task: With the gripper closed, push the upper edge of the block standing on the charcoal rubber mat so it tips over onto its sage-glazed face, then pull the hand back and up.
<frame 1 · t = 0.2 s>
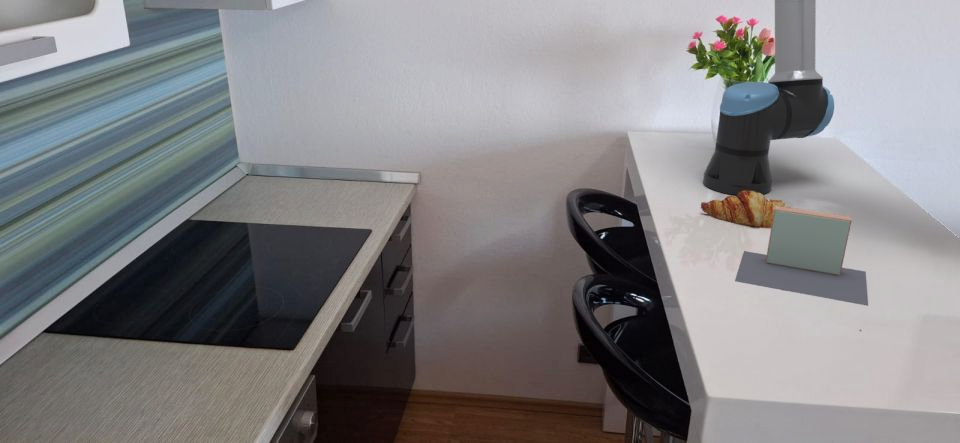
mat: (800, 280, 126), on the counter
block: (802, 267, 130), point 1 cm above the counter, touching mat
croissant: (753, 225, 152), on the counter
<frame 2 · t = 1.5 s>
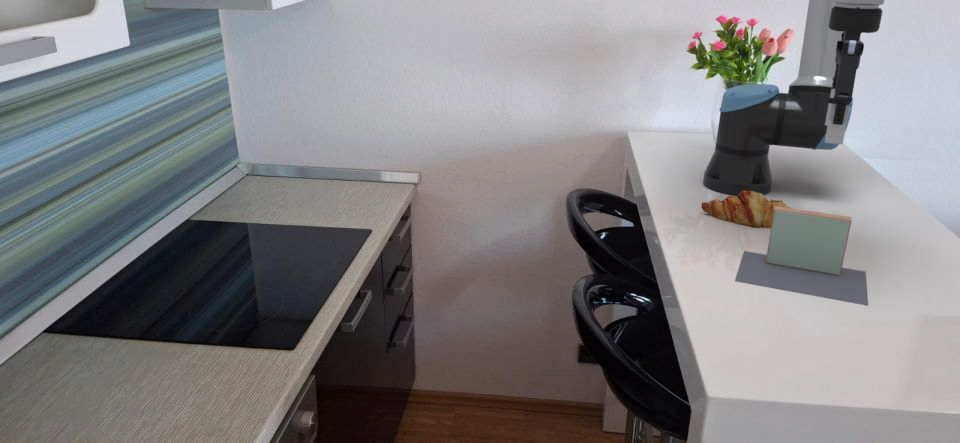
hand: (833, 134, 128), 23 cm above the counter, tool pointing down, fingers open, 13 cm apart
nothing on the counter moved.
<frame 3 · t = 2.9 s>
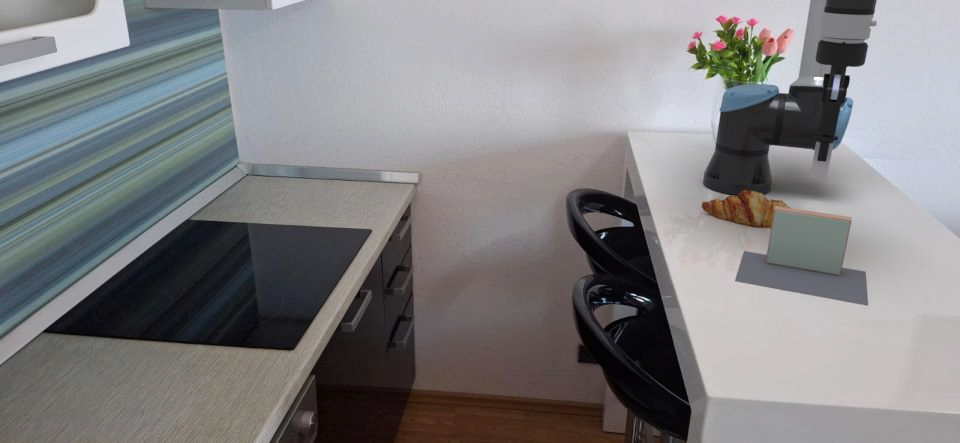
hand: (818, 177, 131), 15 cm above the counter, tool pointing down, fingers closed
nothing on the counter moved.
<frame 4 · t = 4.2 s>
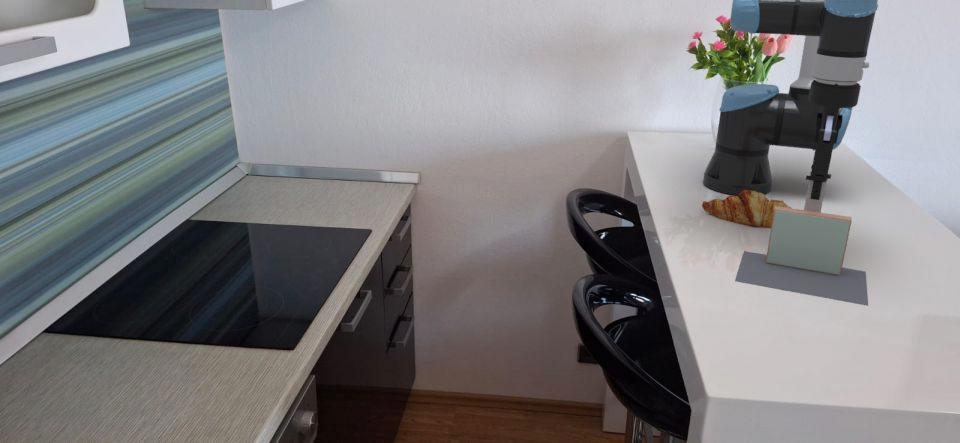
hand: (811, 214, 132), 9 cm above the counter, tool pointing down, fingers closed
nothing on the counter moved.
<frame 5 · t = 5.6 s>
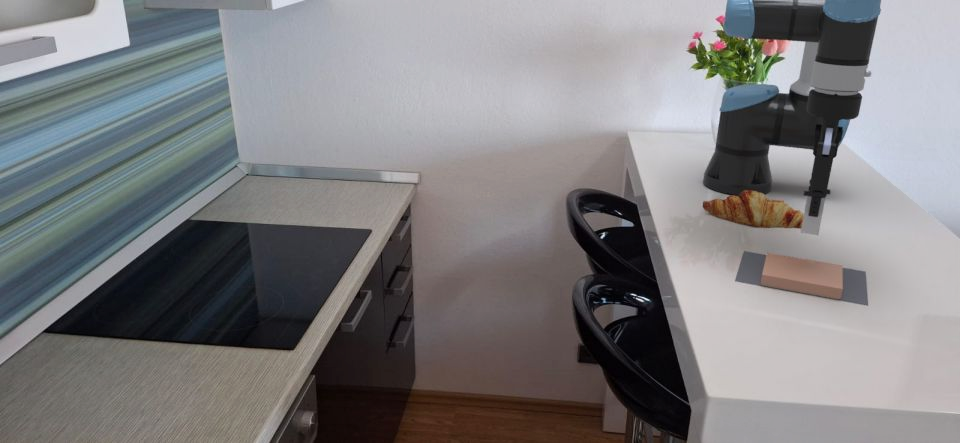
hand: (809, 232, 124), 9 cm above the counter, tool pointing down, fingers closed
block: (803, 264, 128), point 2 cm above the counter, tilted 90°, touching mat
everything else where it was.
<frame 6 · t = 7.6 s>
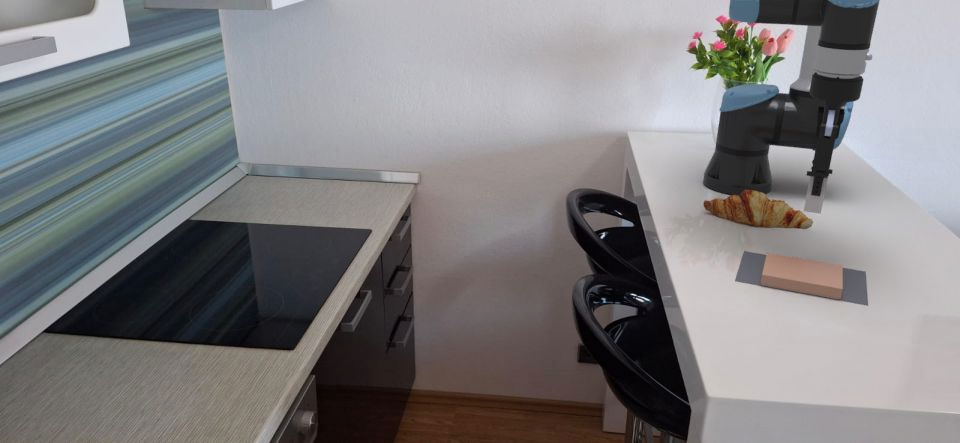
hand: (812, 210, 128), 10 cm above the counter, tool pointing down, fingers closed
nothing on the counter moved.
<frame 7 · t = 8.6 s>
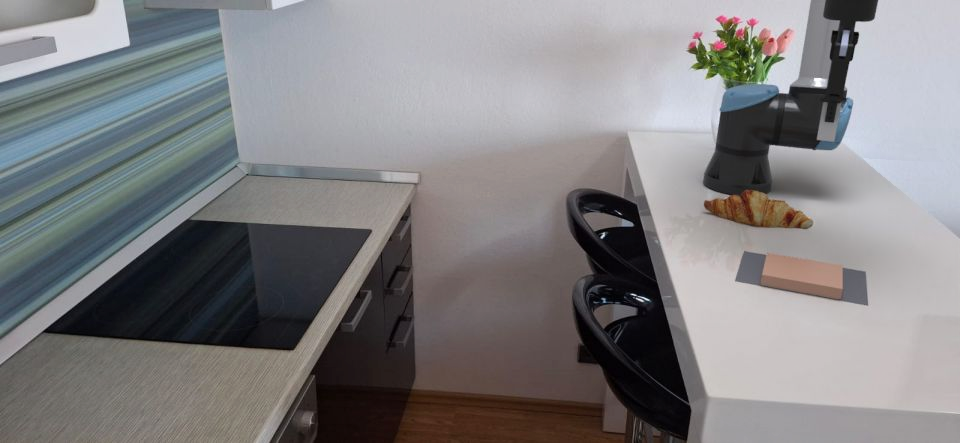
hand: (825, 139, 126), 22 cm above the counter, tool pointing down, fingers closed
nothing on the counter moved.
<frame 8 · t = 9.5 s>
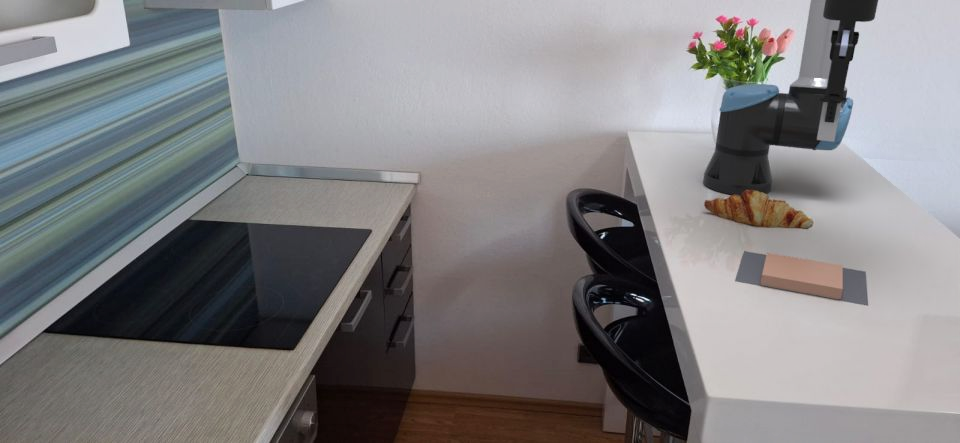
hand: (825, 139, 126), 22 cm above the counter, tool pointing down, fingers closed
nothing on the counter moved.
at the end: block tilted 90°; block inside the target area (0.0 cm from its centre), point 1.8 cm above the counter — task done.
